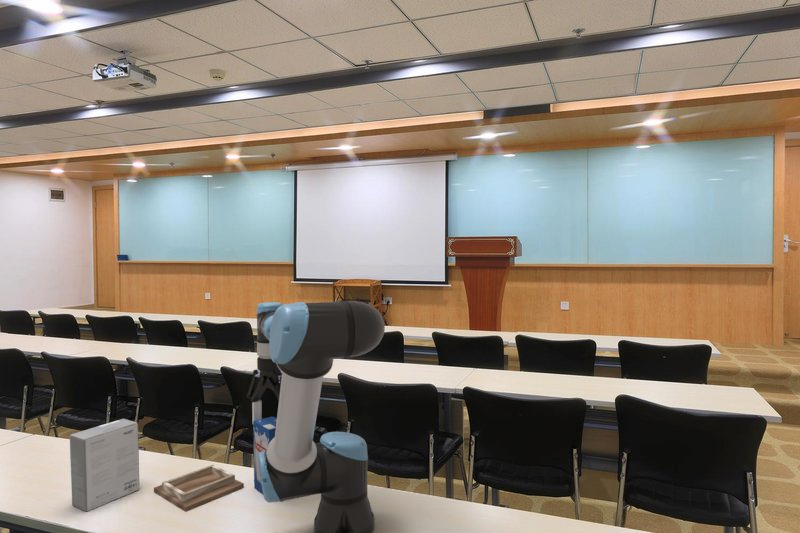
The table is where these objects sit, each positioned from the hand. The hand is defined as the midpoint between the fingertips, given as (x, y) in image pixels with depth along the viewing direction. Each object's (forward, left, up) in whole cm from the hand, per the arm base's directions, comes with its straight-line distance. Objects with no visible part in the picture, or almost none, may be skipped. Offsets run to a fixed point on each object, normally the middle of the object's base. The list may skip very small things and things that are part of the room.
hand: (271, 428), depth 148 cm
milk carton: (0, 0, -18) cm, 18 cm away
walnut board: (+17, +13, -18) cm, 28 cm away
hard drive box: (+33, +32, -18) cm, 49 cm away
